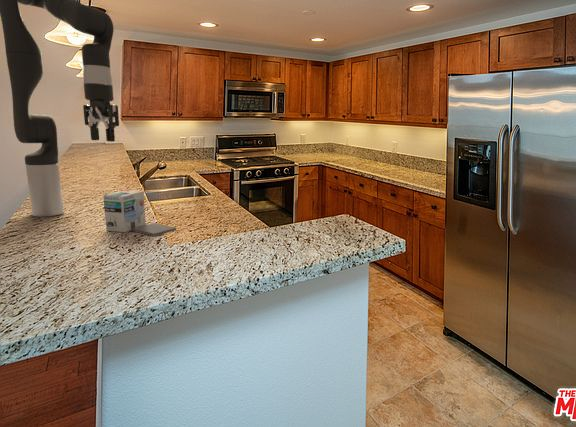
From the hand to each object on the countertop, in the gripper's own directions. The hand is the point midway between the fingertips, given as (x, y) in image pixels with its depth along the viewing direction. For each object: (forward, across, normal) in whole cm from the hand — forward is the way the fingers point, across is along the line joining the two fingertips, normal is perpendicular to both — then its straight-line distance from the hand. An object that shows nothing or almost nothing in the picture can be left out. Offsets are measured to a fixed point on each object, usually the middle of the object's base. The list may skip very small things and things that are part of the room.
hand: (102, 140), depth 110 cm
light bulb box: (+26, +9, 0) cm, 27 cm away
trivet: (+26, +18, +2) cm, 32 cm away
